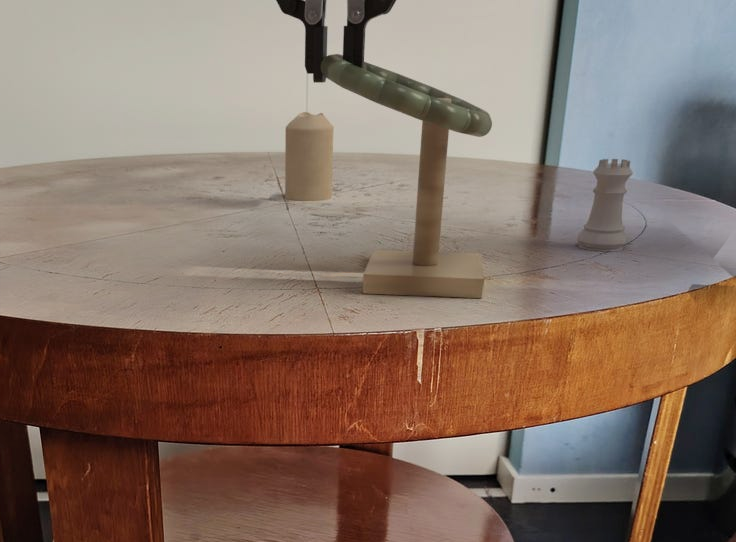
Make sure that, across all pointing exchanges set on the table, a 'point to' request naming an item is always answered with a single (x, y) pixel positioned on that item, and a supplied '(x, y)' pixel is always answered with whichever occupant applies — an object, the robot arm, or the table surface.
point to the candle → (309, 158)
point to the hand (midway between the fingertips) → (334, 81)
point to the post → (427, 239)
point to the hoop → (407, 96)
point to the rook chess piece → (607, 208)
